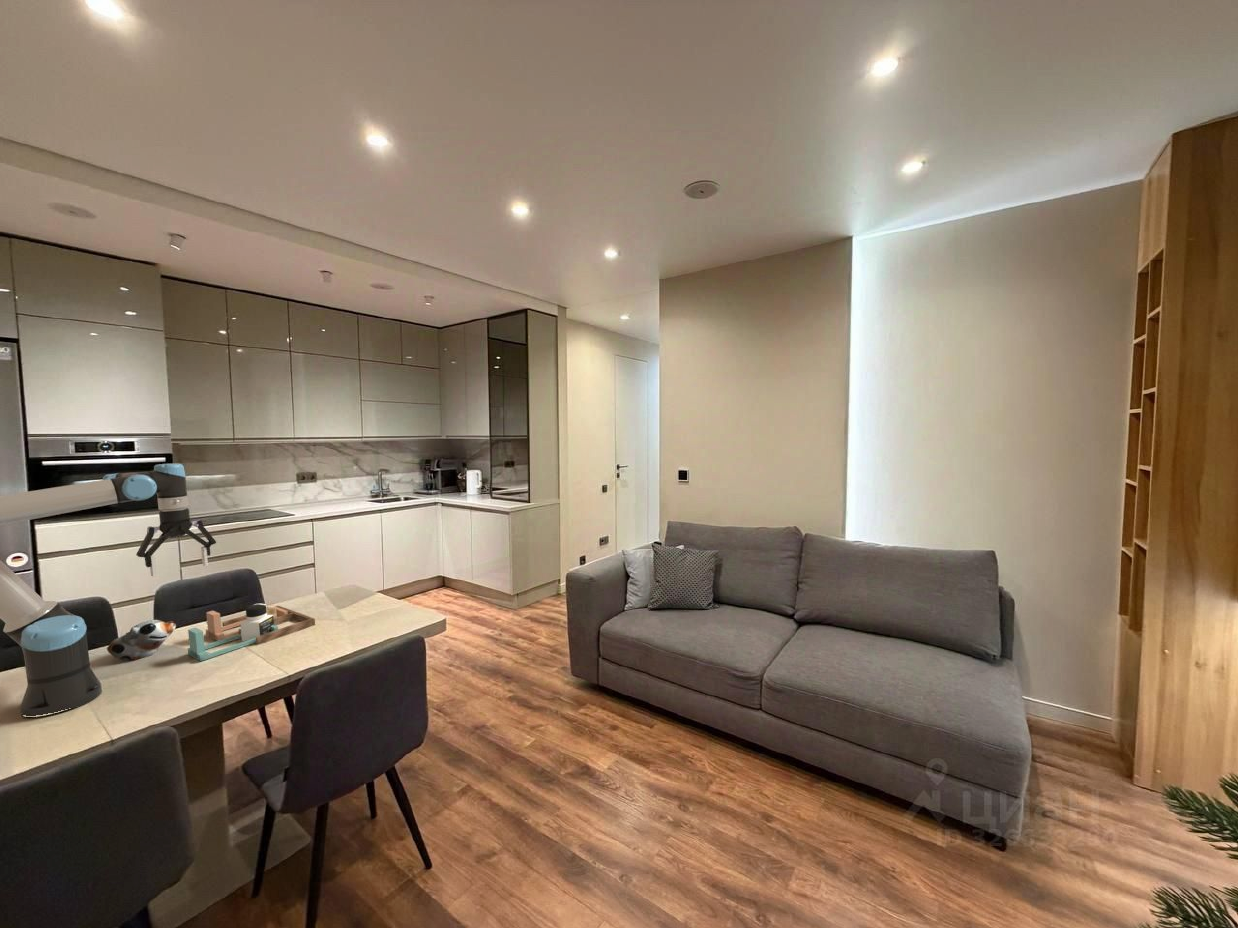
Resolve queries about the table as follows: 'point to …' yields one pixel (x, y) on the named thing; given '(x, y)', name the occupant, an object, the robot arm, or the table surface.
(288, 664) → the table surface
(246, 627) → the medicine bottle
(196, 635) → the frame
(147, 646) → the lucky cat figurine
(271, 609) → the oak cube
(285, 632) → the lane rails
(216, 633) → the sled
